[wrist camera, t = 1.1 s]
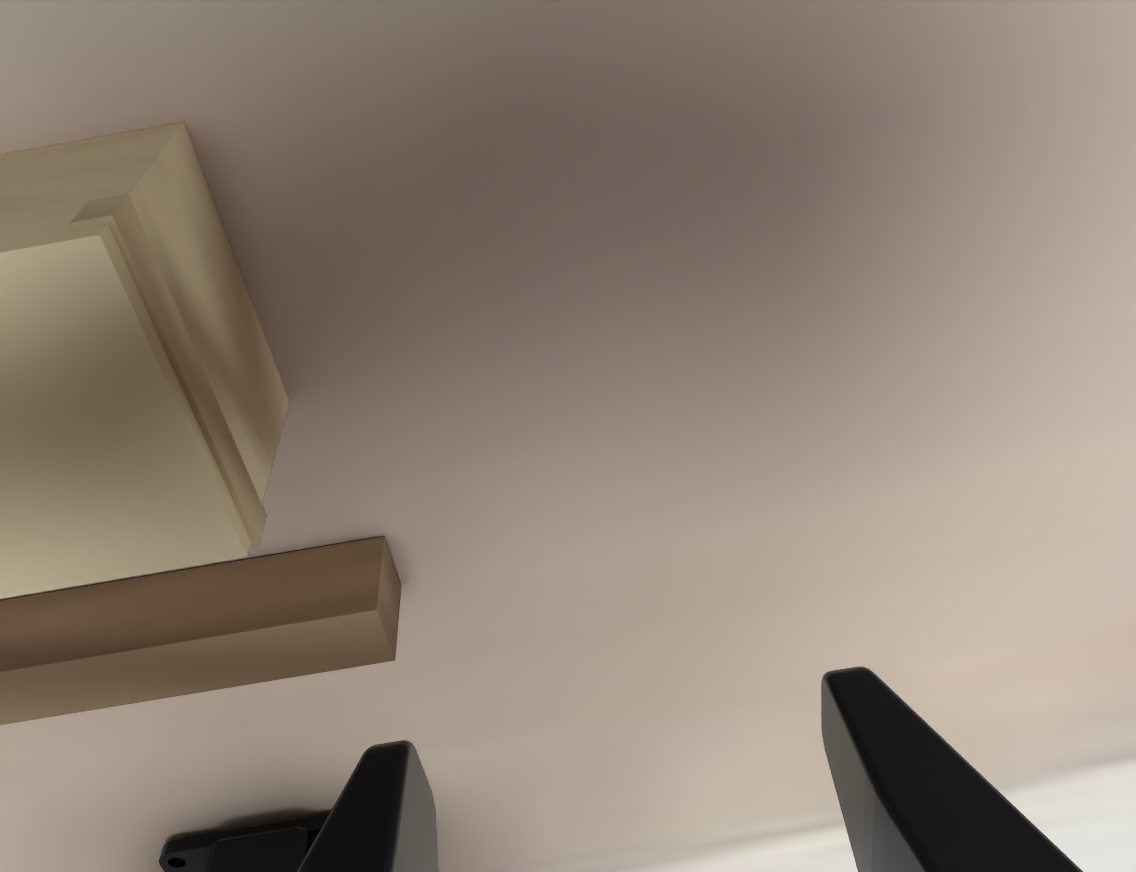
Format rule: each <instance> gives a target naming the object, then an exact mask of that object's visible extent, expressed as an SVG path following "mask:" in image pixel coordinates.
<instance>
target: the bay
mask: <svg viewBox="0 0 1136 872" xmlns="http://www.w3.org/2000/svg"><path fill="white" fill-rule="evenodd" d="M400 596H401V583H400V580H399V577H398V574H397V571H396V568H395V565H394V563H393V560H392V557H391V554H390V551H389V548H388V545H387V542H386V539H385V536H384V537H378V538H372V539H366V540H360V541H354V542H348V543H342V544H336V545H330V546H324V547H318V548H312V549H306V550H300V551H294V552H288V553H282V554H276V555H270V556H264V557H258V558H252V559H246V560H240V561H234V562H228V563H222V564H216V565H210V566H204V567H198V568H192V569H186V570H180V571H174V572H168V573H162V574H156V575H150V576H144V577H138V578H132V579H126V580H120V581H114V582H108V583H102V584H96V585H90V586H84V587H78V588H72V589H66V590H60V591H54V592H49V593H43V594H37V595H31V596H25V597H19V598H13V599H7V600H1V601H0V725H3V724H10V723H16V722H22V721H28V720H34V719H40V718H46V717H52V716H58V715H64V714H71V713H77V712H83V711H89V710H95V709H101V708H107V707H113V706H119V705H125V704H132V703H138V702H144V701H150V700H156V699H162V698H168V697H174V696H180V695H186V694H193V693H199V692H205V691H211V690H217V689H223V688H229V687H235V686H241V685H248V684H254V683H260V682H266V681H272V680H278V679H284V678H290V677H296V676H302V675H309V674H315V673H321V672H327V671H333V670H339V669H345V668H351V667H357V666H363V665H370V664H376V663H382V662H388V661H394V660H395V655H396V643H397V631H398V619H399V607H400Z"/></svg>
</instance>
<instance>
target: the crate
mask: <svg viewBox="0 0 1136 872" xmlns="http://www.w3.org/2000/svg"><path fill="white" fill-rule="evenodd" d="M289 403H290V400H289V398H288V395H287V392H286V390H285V387H284V384H283V382H282V379H281V377H280V374H279V371H278V369H277V366H276V363H275V361H274V358H273V355H272V353H271V350H270V348H269V345H268V342H267V340H266V337H265V334H264V332H263V329H262V326H261V324H260V321H259V319H258V316H257V313H256V311H255V308H254V305H253V303H252V300H251V298H250V295H249V292H248V290H247V287H246V284H245V282H244V279H243V276H242V274H241V271H240V269H239V266H238V263H237V261H236V258H235V255H234V253H233V250H232V247H231V245H230V242H229V240H228V237H227V234H226V232H225V229H224V226H223V224H222V221H221V218H220V216H219V213H218V211H217V208H216V205H215V203H214V200H213V197H212V195H211V192H210V189H209V187H208V184H207V182H206V179H205V176H204V174H203V171H202V168H201V166H200V163H199V161H198V158H197V155H196V153H195V150H194V147H193V145H192V142H191V139H190V137H189V134H188V132H187V129H186V126H185V124H184V121H183V122H178V123H172V124H167V125H161V126H156V127H150V128H144V129H139V130H133V131H128V132H122V133H117V134H111V135H106V136H100V137H94V138H89V139H83V140H78V141H72V142H67V143H61V144H56V145H50V146H44V147H39V148H33V149H28V150H22V151H17V152H11V153H6V154H0V599H1V598H7V597H13V596H19V595H25V594H31V593H37V592H42V591H48V590H54V589H60V588H66V587H72V586H78V585H84V584H90V583H96V582H102V581H108V580H114V579H119V578H125V577H131V576H137V575H143V574H149V573H155V572H161V571H167V570H173V569H179V568H185V567H191V566H196V565H202V564H208V563H214V562H220V561H226V560H232V559H238V558H244V557H247V556H248V552H249V549H250V546H255V545H259V543H260V539H261V535H262V531H263V528H264V524H265V520H266V516H267V515H266V513H265V511H264V508H263V506H262V501H263V498H264V494H265V490H266V487H267V483H268V479H269V476H270V472H271V468H272V465H273V461H274V457H275V454H276V450H277V446H278V443H279V439H280V436H281V432H282V428H283V425H284V421H285V417H286V414H287V410H288V406H289Z"/></svg>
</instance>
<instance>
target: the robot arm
mask: <svg viewBox="0 0 1136 872" xmlns="http://www.w3.org/2000/svg"><path fill="white" fill-rule="evenodd" d="M821 715H822V736H823V742H824V747H825V751H826V755H827V759H828V763H829V766H830V770H831V774H832V777H833V781H834V785H835V788H836V792H837V796H838V799H839V803H840V807H841V810H842V814H843V818H844V821H845V825H846V829H847V832H848V836H849V840H850V843H851V847H852V851H853V855H854V858H855V862H856V866H857V869H858V872H1083V871H1082V870H1081V869H1080V868H1079V867H1078V866H1077V865H1076V864H1074V863H1073V862H1072V861H1071V860H1070V859H1069V858H1068V857H1067V856H1066V855H1065V854H1064V853H1063V852H1062V851H1061V850H1060V849H1059V848H1058V847H1057V846H1056V845H1054V844H1053V843H1052V842H1051V841H1050V840H1049V839H1048V838H1047V837H1046V836H1045V835H1044V834H1043V833H1042V832H1041V831H1040V830H1039V829H1038V828H1037V827H1036V826H1034V825H1033V824H1032V823H1031V822H1030V821H1029V820H1028V819H1027V818H1026V817H1025V816H1024V815H1023V814H1022V813H1021V812H1020V811H1019V810H1018V809H1017V808H1016V807H1015V806H1013V805H1012V804H1011V803H1010V802H1009V801H1008V800H1007V799H1006V798H1005V797H1004V796H1003V795H1002V794H1001V793H1000V792H999V791H998V790H997V789H996V788H995V787H993V786H992V785H991V784H990V783H989V782H988V781H987V780H986V779H985V778H984V777H983V776H982V775H981V774H980V773H979V772H978V771H977V770H976V769H975V768H973V767H972V766H971V765H970V764H969V763H968V762H967V761H966V760H965V759H964V758H963V757H962V756H961V755H960V754H959V753H958V752H957V751H956V750H955V749H953V748H952V747H951V746H950V745H949V744H948V743H947V742H946V741H945V740H944V739H943V738H942V737H941V736H940V735H939V734H938V733H937V732H936V731H935V730H933V729H932V728H931V727H930V726H929V725H928V724H927V723H926V722H925V721H924V720H923V719H922V718H921V717H920V716H919V715H918V714H917V713H916V712H915V711H913V710H912V709H911V708H910V707H909V706H908V705H907V704H906V703H905V702H904V701H903V700H902V699H901V698H900V697H899V696H898V695H897V694H896V693H895V692H893V691H892V690H891V689H890V688H889V687H888V686H887V685H886V684H885V683H884V682H883V681H882V680H881V679H880V678H879V677H878V676H877V675H876V674H874V673H873V672H872V671H871V670H869V669H868V668H865V667H853V668H846V669H840V670H834V671H829V672H827V673H825V674H824V675H823V678H822V682H821ZM159 863H160V866H161V867H162V869H163V870H164V872H438V855H437V833H436V814H435V805H434V799H433V794H432V791H431V788H430V785H429V783H428V780H427V777H426V775H425V772H424V769H423V767H422V764H421V762H420V759H419V756H418V754H417V751H416V749H415V747H414V745H413V744H412V743H411V742H409V741H405V740H402V741H396V742H390V743H384V744H378V745H374V746H371V747H370V748H368V749H367V750H366V751H365V752H364V754H363V756H362V757H361V759H360V761H359V763H358V764H357V766H356V768H355V770H354V771H353V773H352V775H351V777H350V779H349V780H348V782H347V784H346V786H345V787H344V789H343V791H342V793H341V795H340V796H339V798H338V800H337V802H336V803H335V805H334V807H333V809H332V811H331V812H330V814H329V816H323V817H316V818H310V819H304V820H298V821H291V822H285V823H279V824H273V825H266V826H260V827H254V828H248V829H242V830H235V831H229V832H223V833H217V834H210V835H204V836H198V837H192V838H185V839H179V840H173V841H170V842H167V843H166V844H165V845H164V846H163V849H162V852H161V856H160V859H159Z"/></svg>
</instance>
